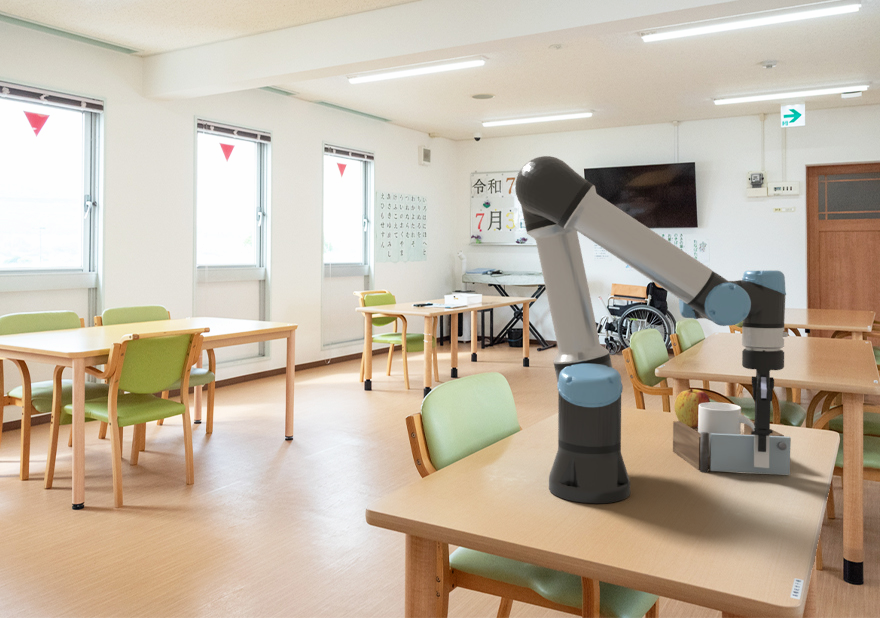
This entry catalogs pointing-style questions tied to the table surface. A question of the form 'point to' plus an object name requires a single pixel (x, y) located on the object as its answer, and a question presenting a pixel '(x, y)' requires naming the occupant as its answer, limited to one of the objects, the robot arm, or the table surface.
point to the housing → (697, 444)
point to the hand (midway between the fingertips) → (761, 466)
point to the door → (748, 454)
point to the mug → (721, 419)
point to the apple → (689, 406)
